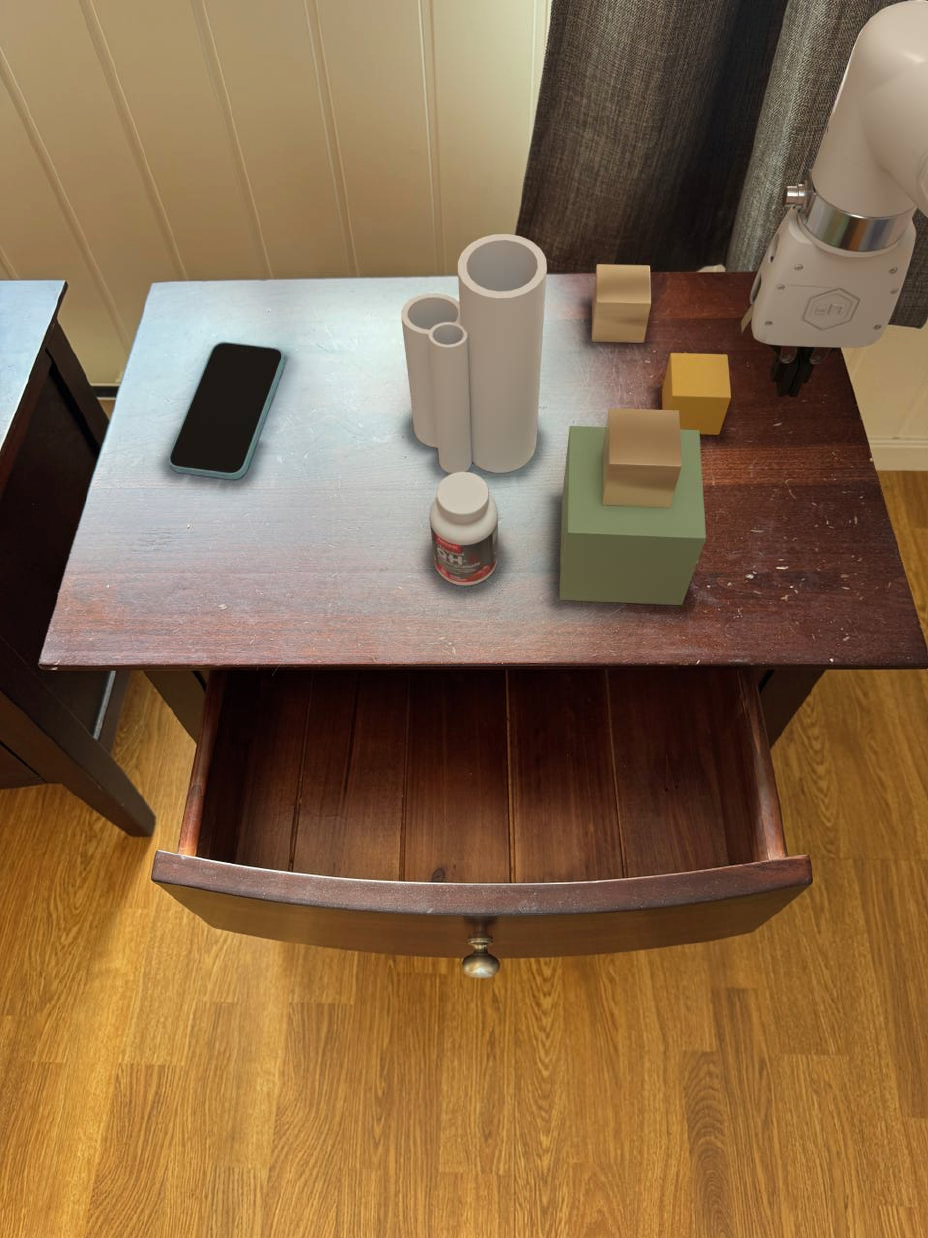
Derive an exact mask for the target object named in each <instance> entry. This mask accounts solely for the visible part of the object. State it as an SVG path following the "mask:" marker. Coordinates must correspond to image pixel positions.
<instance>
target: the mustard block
mask: <svg viewBox="0 0 928 1238" xmlns="http://www.w3.org/2000/svg"><path fill="white" fill-rule="evenodd" d="M728 357H729V356H728V354H725V353H724V354H723V353H722V354H721V353H720V354H717V353H687V352H686V353H685V352H683V353H682V352H671V353H670V354H669V357H668V363H667V366H666V372H665V374H664V375H665V376H664V380H663V384H662V389H661V404H662V405H661V407H662V409H661V410H676V411H679V418H680V430H699V433H700V435H706V436H707V435H708V436H709V435H710V436H711V435H714V436H719V435H720V433H721V431H722V427H723V423H724V420H725V417H726V414H727V411H728V408H729V405H730V402H731V399H732V393H731V392H732V391H731V381H730V369H729V358H728Z"/></svg>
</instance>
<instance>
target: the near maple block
mask: <svg viewBox="0 0 928 1238" xmlns="http://www.w3.org/2000/svg"><path fill="white" fill-rule="evenodd" d="M606 419H607V420H606V424H605V427H606V430H605V437H604V443H603V449H602V505H610V506H635V507H661V508H670V506H671V503H672V499H673V496H674V492H675V489H676V485H677V482H678V478H679V475H680V471H681V467H682V458H681V438H680V418H679V411H676V410H663V409H642V408H641V409H640V408H617V407H615V408H614V407H613V408H612V407H610V408H608V413H607V418H606Z"/></svg>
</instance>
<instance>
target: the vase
mask: <svg viewBox="0 0 928 1238" xmlns="http://www.w3.org/2000/svg"><path fill="white" fill-rule="evenodd" d="M547 272H548V266H547V258H546V256H545V253H544V252H543V250H542V249H541V247H539V246H538V245H537V244H536V243H535V242H533V241H531V240H530V239H527V238H526V237H523V236H520V235H516V234H509V233H499V234H497V233H496V234H490V235H487V236H484V237H480V238H478V239H477V240H474V241H473V242H471V243H469V244H468V245H467V246H466V247H465V249H464V250H463V251H462V252H461V254H460V256H459V259H458V261H457V279H458V280H457V281H458V299H459V300H458V299H456V298H455V297H452V296H450V295H449V294H443V293H438V292H436V293H424V294H420V295H417V296H415V297H412V298H411V299H409V300H407V302H406V303H404V305H402V306H403V307H402V308H401V310H400V318H401V325H402V326H401V327H402V334H403V344H404V352H405V361H406V370H407V378H408V380H407V381H408V388H409V396H410V405H411V413H412V421H413V430H414V434H415V436H416V438H417V440H419V441H420V442H421V443H423V445H426V446H427V447H430V448H437V450H438V463H439V466H440V468H441V469H442V470H443V471H444V472H446V473H448V474H453V473H457V472H468V471H469V469H471V467H472V465H473V464H474V465H475V466H476V467H479V468H480V469H482V470H484V471H486V472H490V473H494V474H503V473H505V474H506V473H511V472H514V471H517V470H519V469H521V468H523V467H524V466H525V465H527V464H528V463H529V462H530V460H531V459H532V458H533V456H534V455H535V451H536V448H537V437H538V421H539V420H538V419H539V405H540V390H541V389H540V387H541V371H542V355H543V340H544V325H545V323H544V322H545V321H544V320H545V305H546V288H547V274H548V273H547Z"/></svg>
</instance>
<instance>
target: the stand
mask: <svg viewBox="0 0 928 1238" xmlns="http://www.w3.org/2000/svg"><path fill="white" fill-rule="evenodd" d="M568 429H569V430H568V439H567V447H566V457H565V468H564V477H563V478H564V479H563V487H562V495H561V516H560V517H561V521H560V522H561V523H560V553H559V554H560V558H559V559H560V560H559V595H558V596H559V600H560V601H578V602H598V603H600V602H601V603H618V604H619V603H622V604H623V603H624V604H644V605H645V604H646V605H662V606H663V605H664V606H665V605H666V606H667V605H668V606H683V604H684V601H685V598H686V595H687V593H688V590H689V587H690V584H691V581H692V579H693V575H694V573H695V570H696V568H697V565H698V562H699V559H700V556H701V553H702V551H703V549H704V545H705V543H706V540H707V530H706V516H705V515H706V513H705V499H704V483H703V468H702V467H703V466H702V450H701V434H700V433H699V430H680V438H681V458H682V467H681V471H680V475H679V478H678V482H677V485H676V489H675V492H674V496H673V499H672V503H671V506H670V508H661V507H635V506H610V505H602V449H603V443H604V437H605V430H606V426H589V425H588V426H584V425H570V426H569V428H568Z"/></svg>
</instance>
